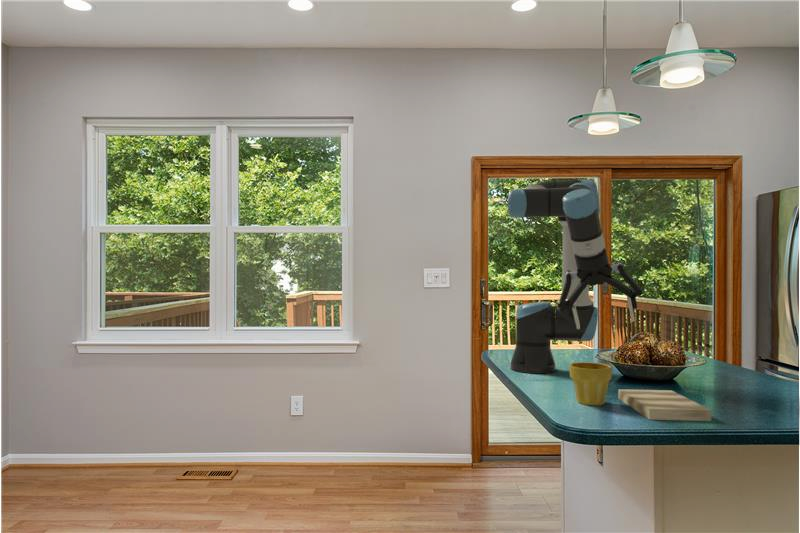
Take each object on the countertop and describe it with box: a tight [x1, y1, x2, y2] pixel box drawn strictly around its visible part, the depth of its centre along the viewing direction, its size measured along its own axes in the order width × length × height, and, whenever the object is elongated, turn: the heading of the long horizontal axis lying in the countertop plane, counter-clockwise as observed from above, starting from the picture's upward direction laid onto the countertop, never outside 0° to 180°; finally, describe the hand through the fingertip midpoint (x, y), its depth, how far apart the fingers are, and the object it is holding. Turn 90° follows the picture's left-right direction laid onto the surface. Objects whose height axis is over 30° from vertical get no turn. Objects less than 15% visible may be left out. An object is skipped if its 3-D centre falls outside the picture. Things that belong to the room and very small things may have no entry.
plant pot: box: [569, 361, 613, 406], centre depth 138 cm, size 10×10×10 cm
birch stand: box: [617, 388, 712, 422], centre depth 133 cm, size 20×14×2 cm
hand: (605, 322), depth 139 cm, fingers open, 13 cm apart
